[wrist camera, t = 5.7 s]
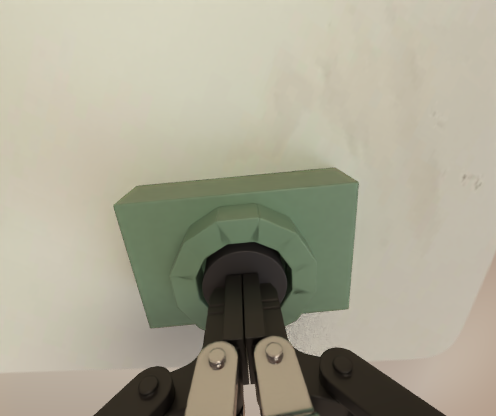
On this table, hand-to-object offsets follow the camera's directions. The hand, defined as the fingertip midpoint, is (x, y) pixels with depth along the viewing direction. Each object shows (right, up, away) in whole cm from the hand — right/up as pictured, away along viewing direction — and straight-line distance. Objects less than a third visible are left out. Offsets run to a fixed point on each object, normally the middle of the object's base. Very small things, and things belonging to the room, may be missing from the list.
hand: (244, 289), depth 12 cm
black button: (0, +1, +2) cm, 2 cm away
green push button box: (0, +2, +5) cm, 5 cm away
